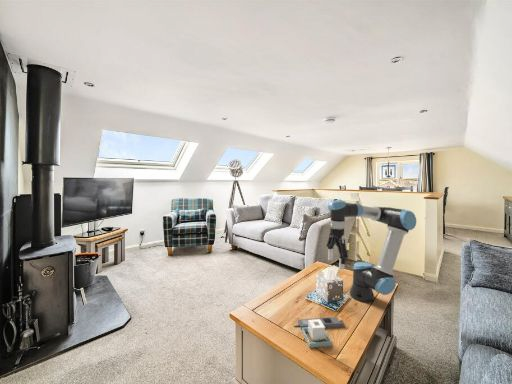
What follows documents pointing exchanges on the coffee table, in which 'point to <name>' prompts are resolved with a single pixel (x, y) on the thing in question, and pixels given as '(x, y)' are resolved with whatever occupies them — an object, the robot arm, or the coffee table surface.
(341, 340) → the coffee table surface
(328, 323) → the power strip
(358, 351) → the coffee table surface
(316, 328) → the charger
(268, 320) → the coffee table surface
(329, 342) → the teal square frame
